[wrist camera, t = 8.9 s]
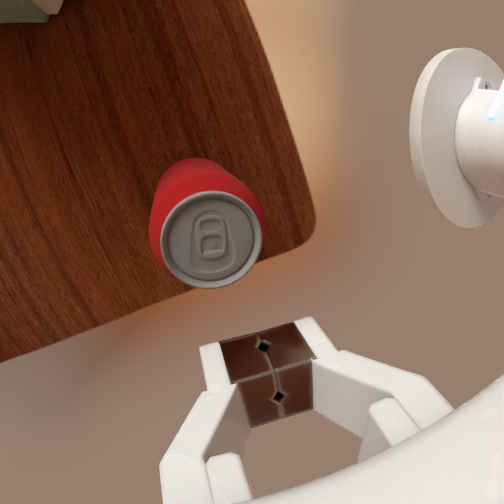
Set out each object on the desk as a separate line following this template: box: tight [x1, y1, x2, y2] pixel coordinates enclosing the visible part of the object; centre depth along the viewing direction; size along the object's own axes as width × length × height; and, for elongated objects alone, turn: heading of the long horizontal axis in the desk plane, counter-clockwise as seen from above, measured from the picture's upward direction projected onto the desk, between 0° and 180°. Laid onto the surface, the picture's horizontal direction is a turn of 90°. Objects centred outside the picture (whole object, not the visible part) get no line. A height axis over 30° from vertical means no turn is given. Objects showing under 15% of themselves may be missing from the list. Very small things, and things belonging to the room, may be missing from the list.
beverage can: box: [149, 157, 266, 289], centre depth 22 cm, size 7×7×12 cm
